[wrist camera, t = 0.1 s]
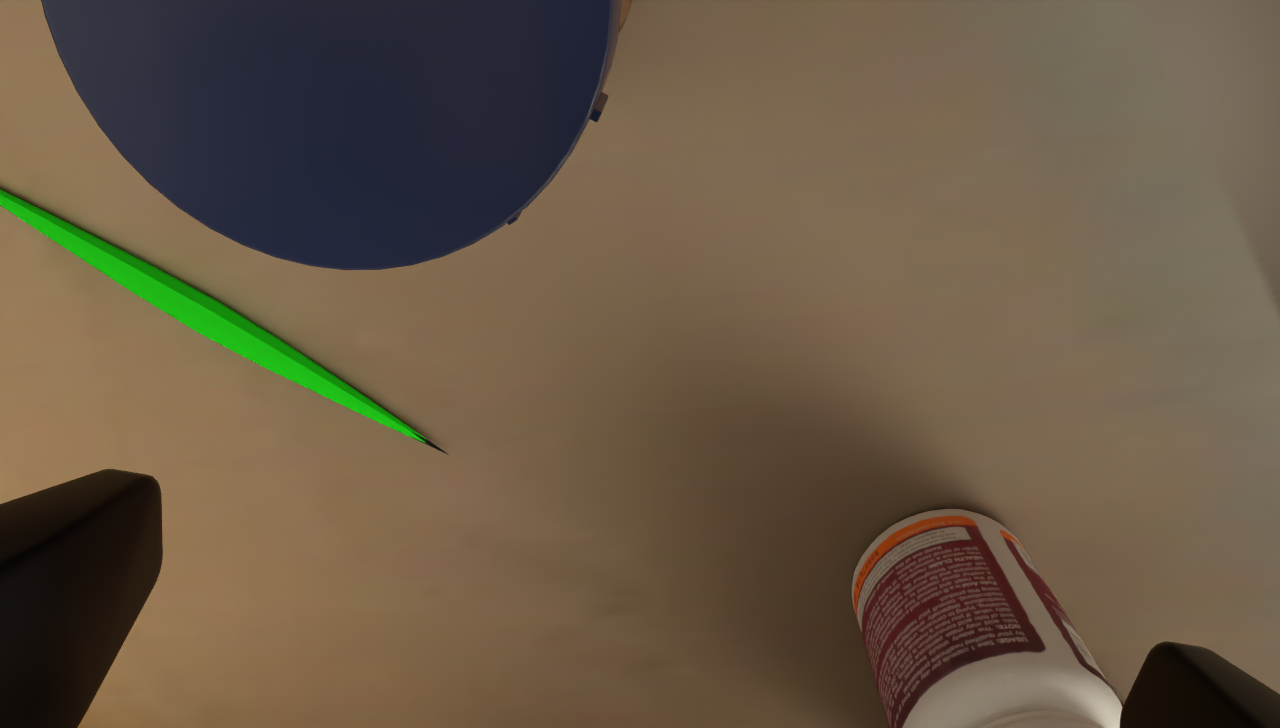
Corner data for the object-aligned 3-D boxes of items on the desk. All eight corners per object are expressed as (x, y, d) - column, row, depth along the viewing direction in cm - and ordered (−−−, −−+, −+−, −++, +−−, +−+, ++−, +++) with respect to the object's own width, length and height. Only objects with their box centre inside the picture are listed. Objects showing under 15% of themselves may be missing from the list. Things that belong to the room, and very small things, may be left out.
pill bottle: (823, 627, 27) (888, 902, 19) (889, 483, 25) (990, 721, 17) (983, 669, 27) (1111, 954, 19) (1059, 530, 25) (1233, 784, 17)
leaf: (445, 460, 25) (438, 476, 24) (-80, 160, 22) (-106, 167, 22) (462, 435, 25) (455, 450, 24) (-68, 127, 22) (-94, 133, 21)
